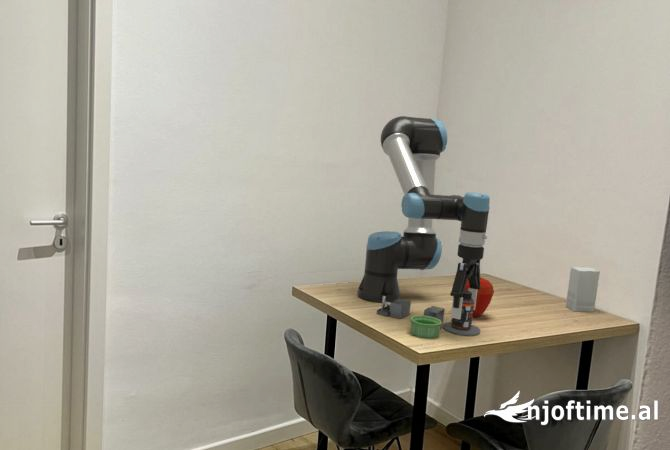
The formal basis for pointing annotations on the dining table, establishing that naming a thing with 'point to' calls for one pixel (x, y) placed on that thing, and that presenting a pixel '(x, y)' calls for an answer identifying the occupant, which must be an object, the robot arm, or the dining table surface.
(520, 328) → the dining table surface
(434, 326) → the ramekin
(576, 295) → the skincare box
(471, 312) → the supplement bottle
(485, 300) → the apple
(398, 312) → the vise
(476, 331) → the coaster
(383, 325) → the dining table surface
